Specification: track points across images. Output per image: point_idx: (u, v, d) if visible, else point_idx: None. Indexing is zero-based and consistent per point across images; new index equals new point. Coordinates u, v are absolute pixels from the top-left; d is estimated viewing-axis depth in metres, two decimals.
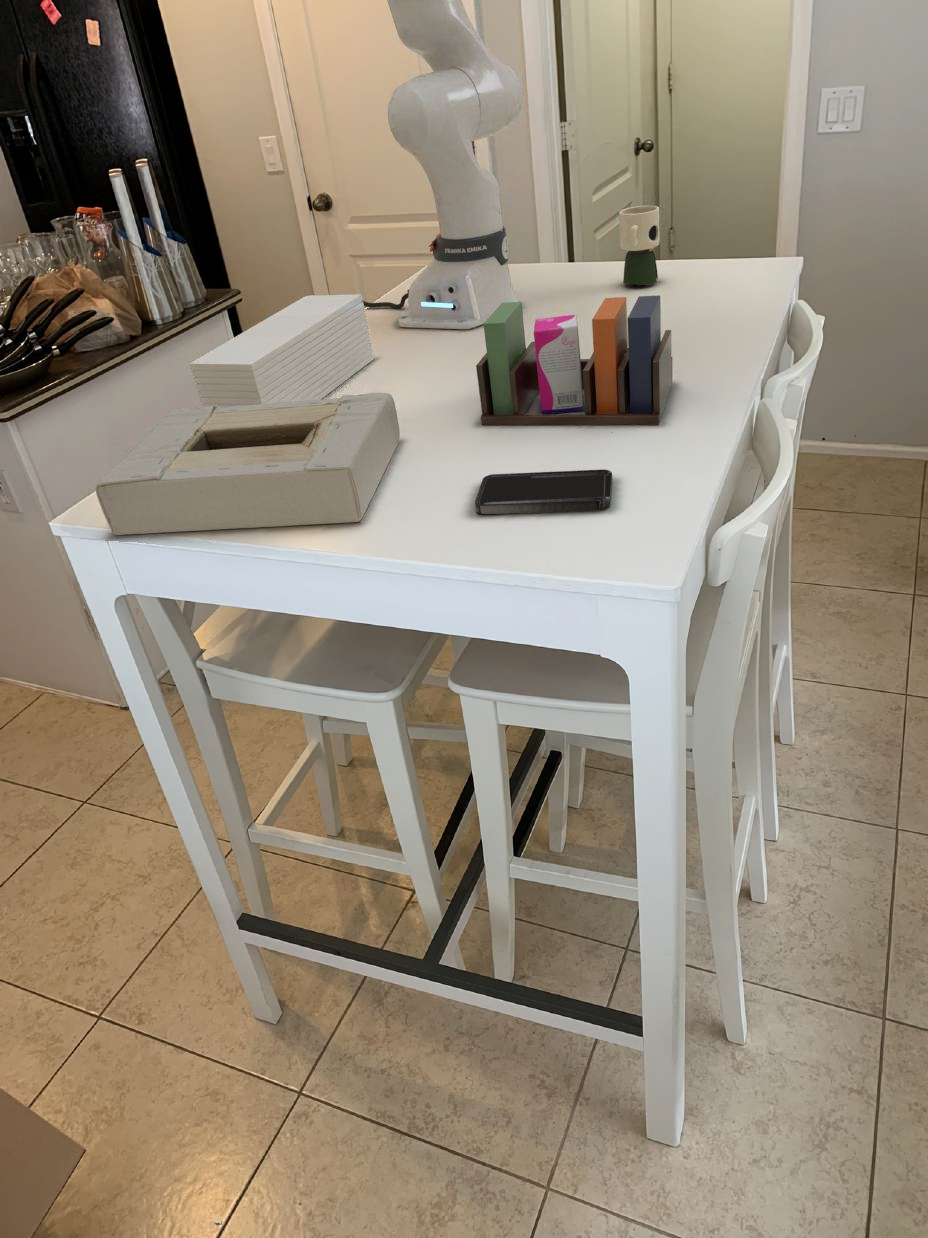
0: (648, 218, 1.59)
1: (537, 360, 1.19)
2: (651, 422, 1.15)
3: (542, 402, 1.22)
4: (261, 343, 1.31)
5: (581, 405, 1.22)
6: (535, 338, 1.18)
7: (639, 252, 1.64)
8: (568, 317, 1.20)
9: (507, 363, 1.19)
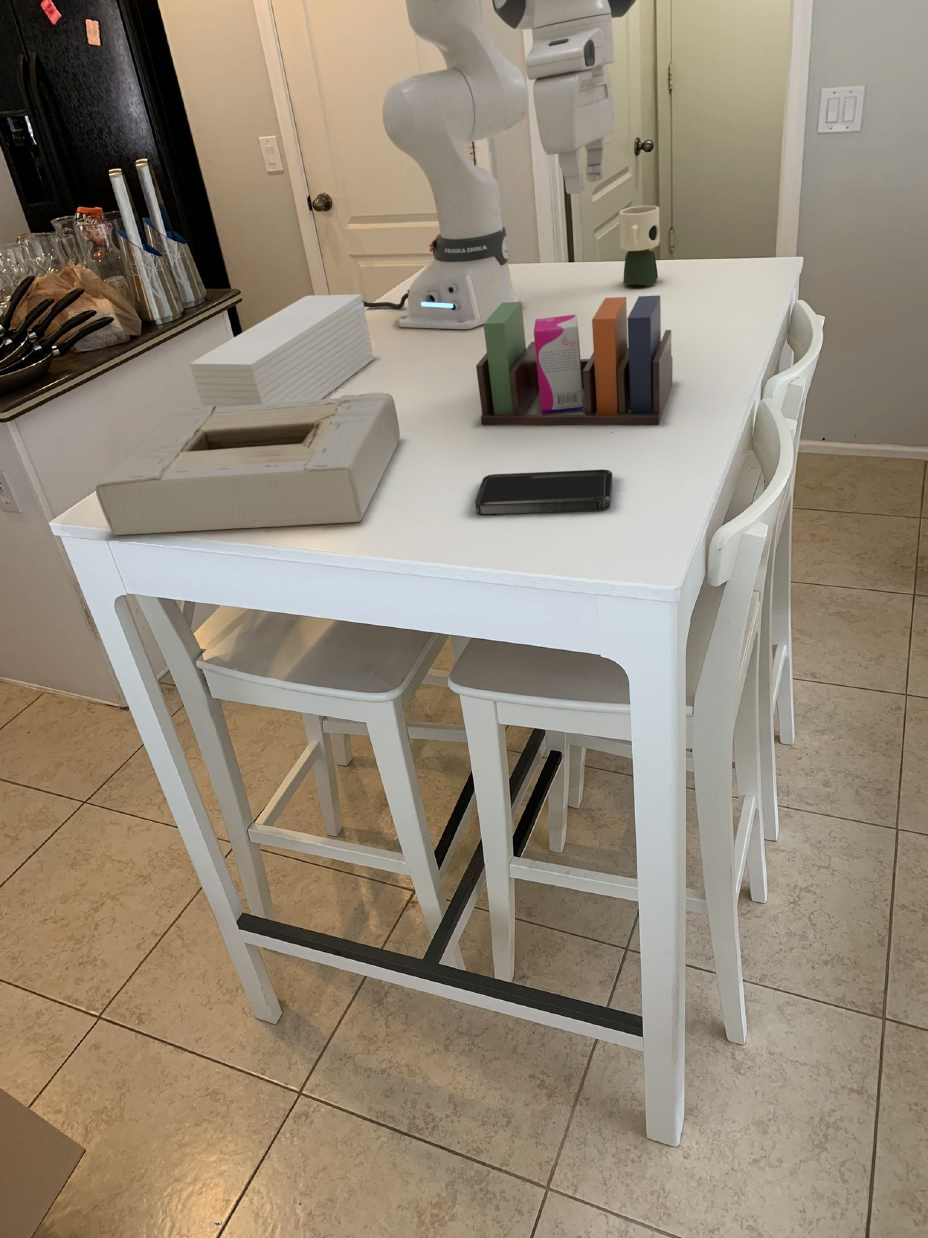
0: (648, 218, 1.59)
1: (537, 360, 1.19)
2: (651, 422, 1.15)
3: (542, 402, 1.22)
4: (261, 343, 1.31)
5: (581, 405, 1.22)
6: (535, 338, 1.18)
7: (639, 252, 1.64)
8: (568, 317, 1.20)
9: (507, 363, 1.19)
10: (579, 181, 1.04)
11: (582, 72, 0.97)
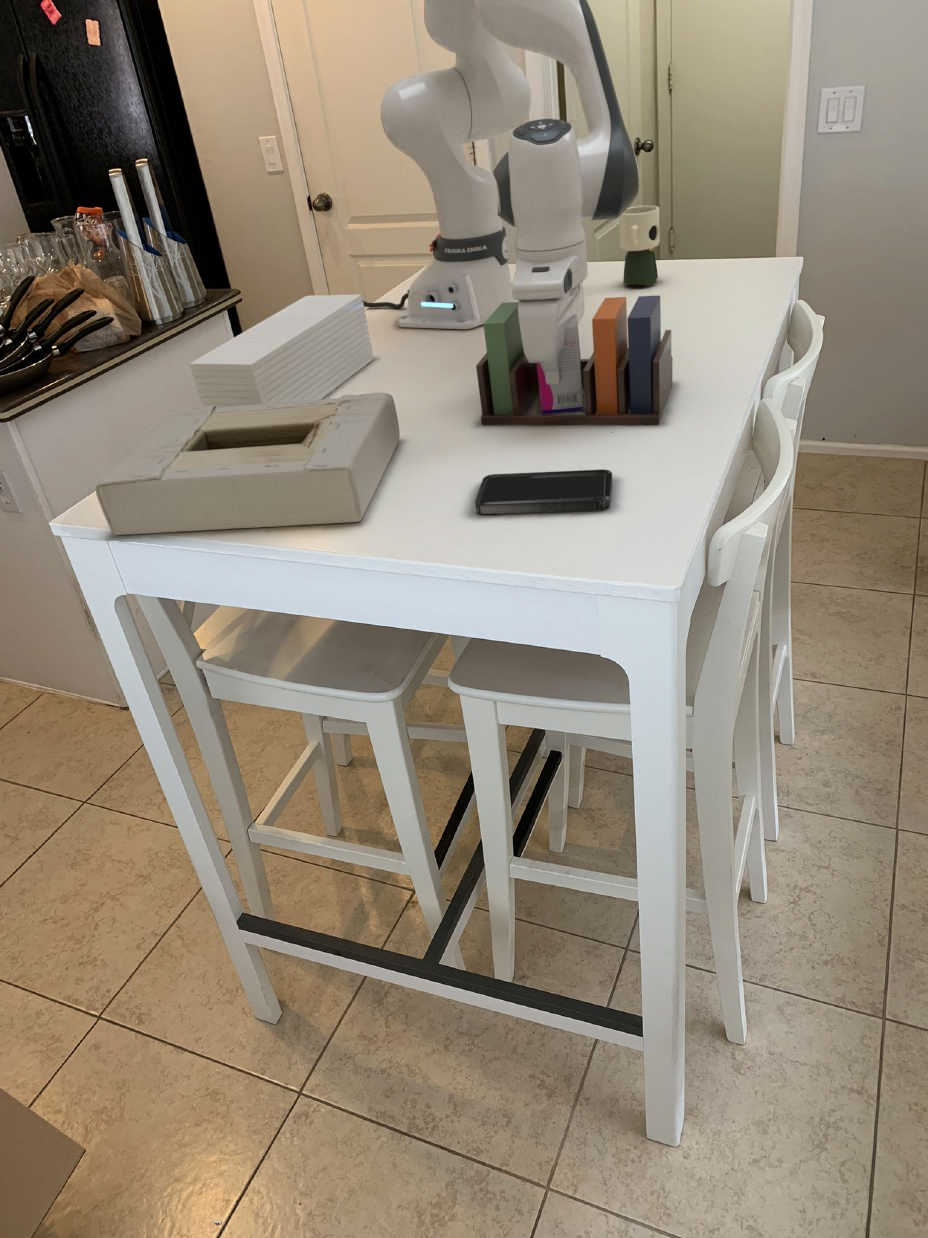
0: (648, 218, 1.59)
1: None
2: (651, 422, 1.15)
3: (542, 402, 1.22)
4: (261, 343, 1.31)
5: (581, 405, 1.22)
6: None
7: (639, 252, 1.64)
8: None
9: (507, 363, 1.19)
10: (557, 375, 1.18)
11: (561, 297, 1.10)
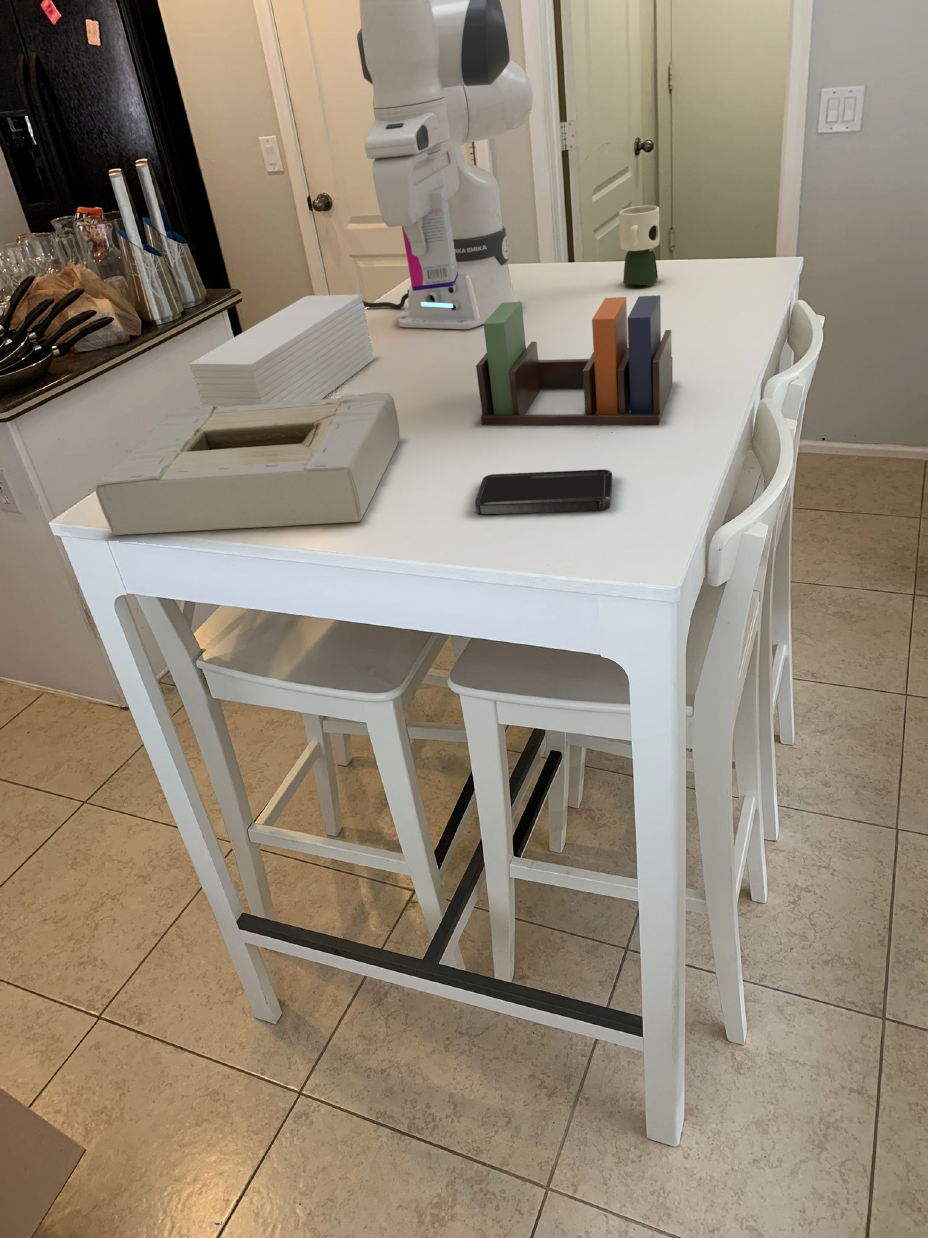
0: (648, 218, 1.59)
1: (403, 231, 1.16)
2: (651, 422, 1.15)
3: (412, 277, 1.19)
4: (261, 343, 1.31)
5: (451, 280, 1.19)
6: None
7: (639, 252, 1.64)
8: None
9: (507, 363, 1.19)
10: (423, 245, 1.15)
11: (416, 155, 1.06)
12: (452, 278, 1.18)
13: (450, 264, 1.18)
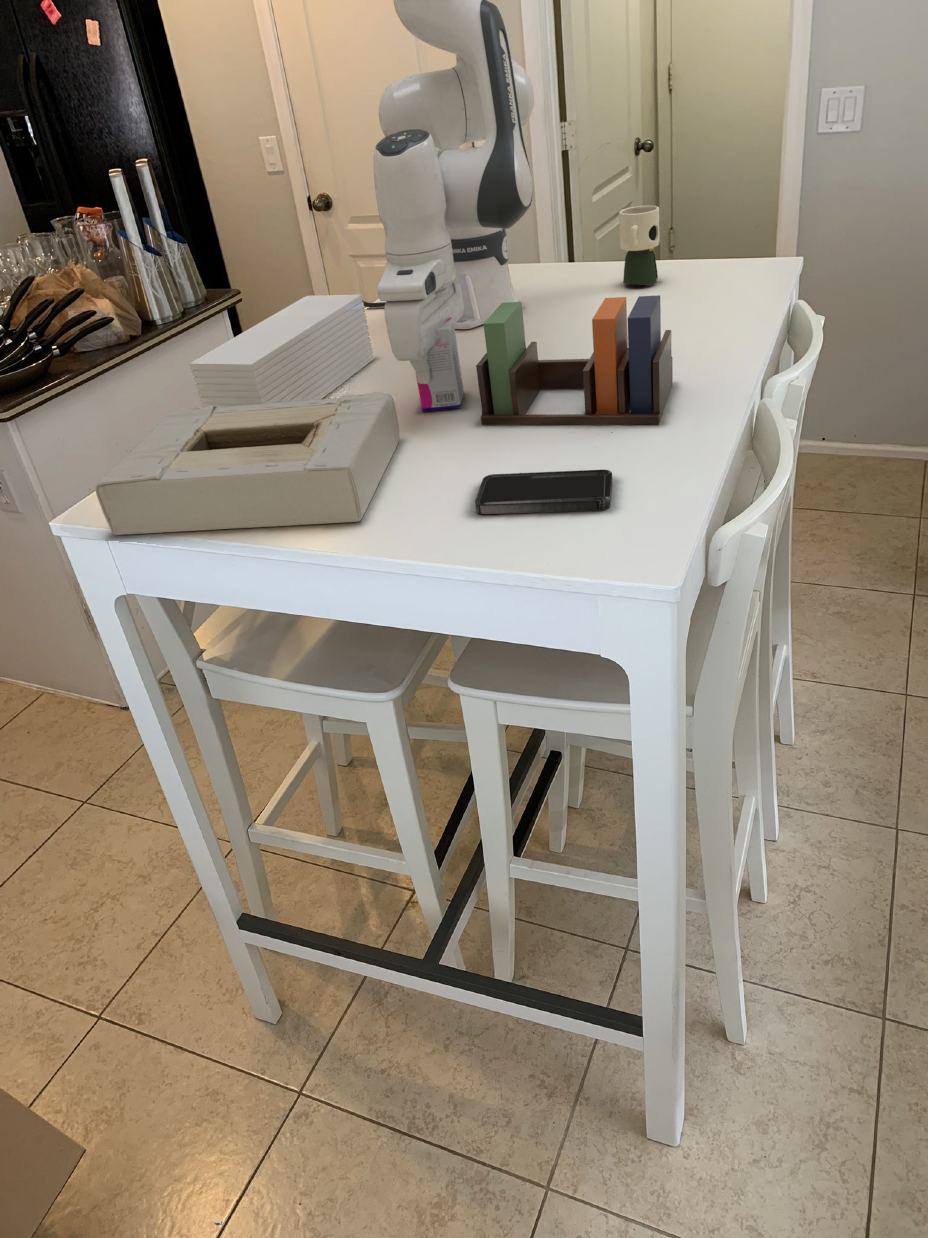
0: (648, 218, 1.59)
1: None
2: (651, 422, 1.15)
3: (422, 400, 1.29)
4: (261, 343, 1.31)
5: (458, 403, 1.28)
6: None
7: (639, 252, 1.64)
8: None
9: (507, 363, 1.19)
10: (428, 375, 1.24)
11: (424, 298, 1.16)
12: (459, 402, 1.28)
13: (457, 390, 1.27)
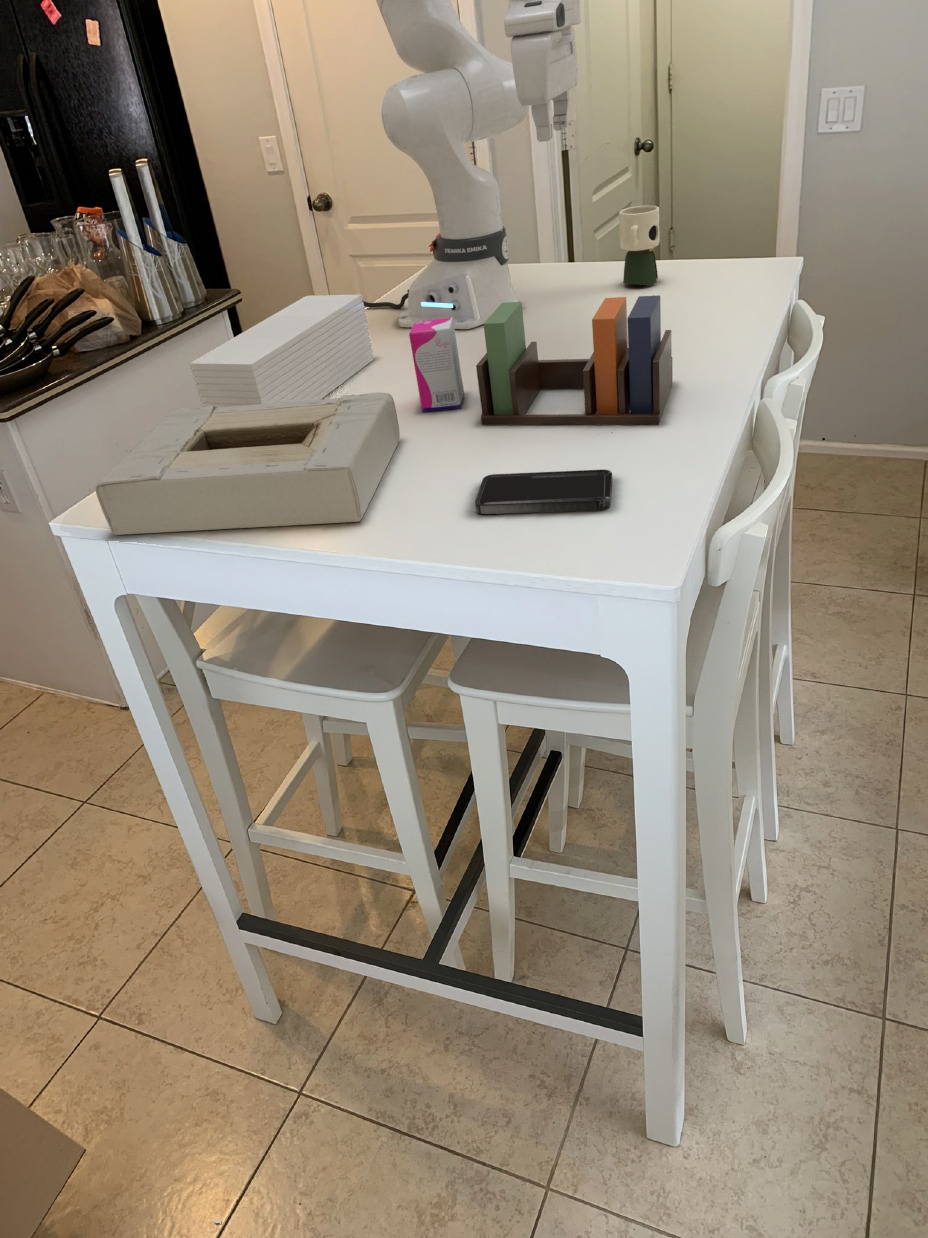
0: (648, 218, 1.59)
1: (414, 360, 1.26)
2: (651, 422, 1.15)
3: (422, 400, 1.29)
4: (261, 342, 1.31)
5: (458, 403, 1.28)
6: (411, 340, 1.24)
7: (639, 252, 1.64)
8: (444, 320, 1.26)
9: (507, 363, 1.19)
10: (549, 130, 1.17)
11: (554, 32, 1.10)
12: (459, 402, 1.28)
13: (457, 390, 1.27)
